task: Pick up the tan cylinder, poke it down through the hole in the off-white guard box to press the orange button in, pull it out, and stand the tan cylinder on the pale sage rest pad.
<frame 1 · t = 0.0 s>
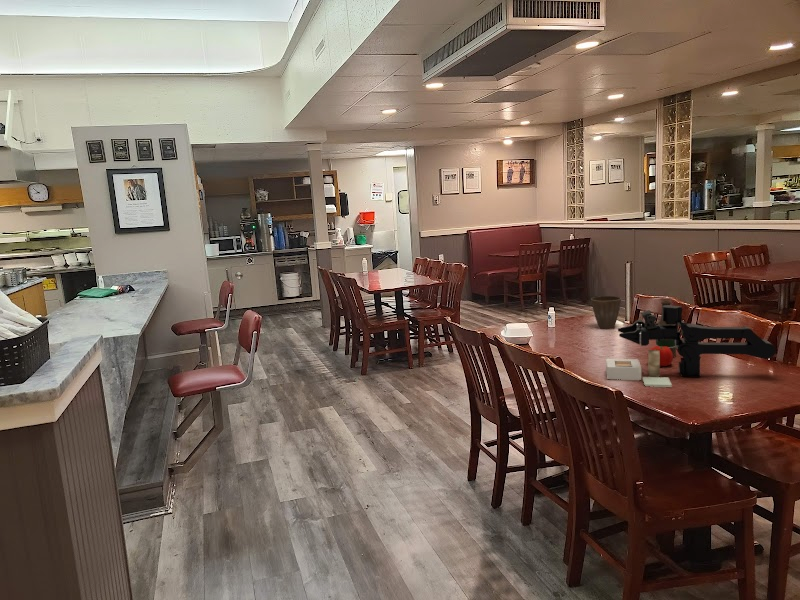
hand: (618, 332, 221), 17 cm above the table, tool horizontal, fingers open, 9 cm apart
beer bottle: (665, 356, 243), on the table
plant pot: (606, 328, 302), on the table
rest pad: (656, 383, 209), on the table
tomato: (659, 365, 231), on the table
guard box: (623, 375, 221), on the table
tan cylinder: (653, 376, 217), on the table
guard button: (623, 367, 220), point 3 cm above the table, slide at 0.0 cm
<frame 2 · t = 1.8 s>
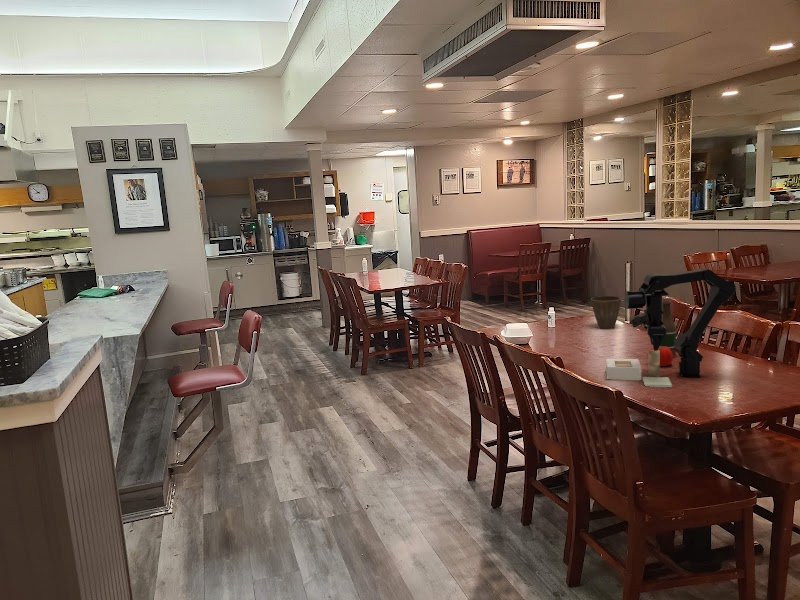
hand: (654, 347, 216), 11 cm above the table, tool pointing down, fingers open, 9 cm apart
nothing on the table moved.
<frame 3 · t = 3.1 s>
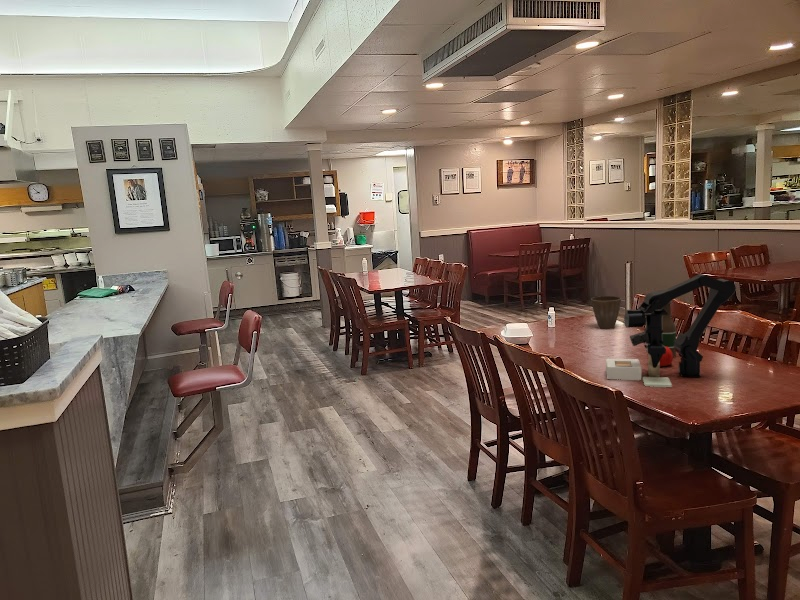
hand: (653, 366, 217), 4 cm above the table, tool pointing down, fingers closed on tan cylinder, 4 cm apart
tan cylinder: (653, 376, 217), on the table, touching gripper
everything else where it was.
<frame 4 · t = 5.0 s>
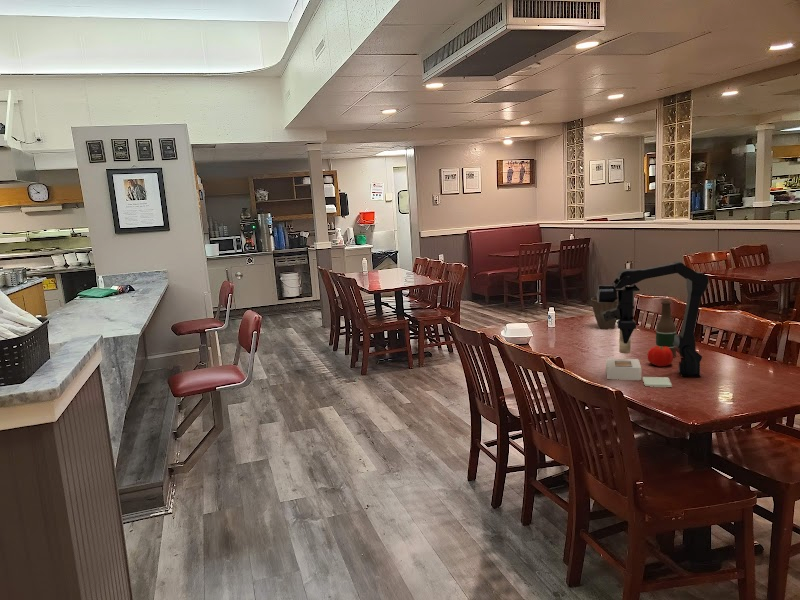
hand: (625, 342, 218), 13 cm above the table, tool pointing down, fingers closed on tan cylinder, 4 cm apart
tan cylinder: (624, 352, 219), point 9 cm above the table, touching gripper
everything else where it was.
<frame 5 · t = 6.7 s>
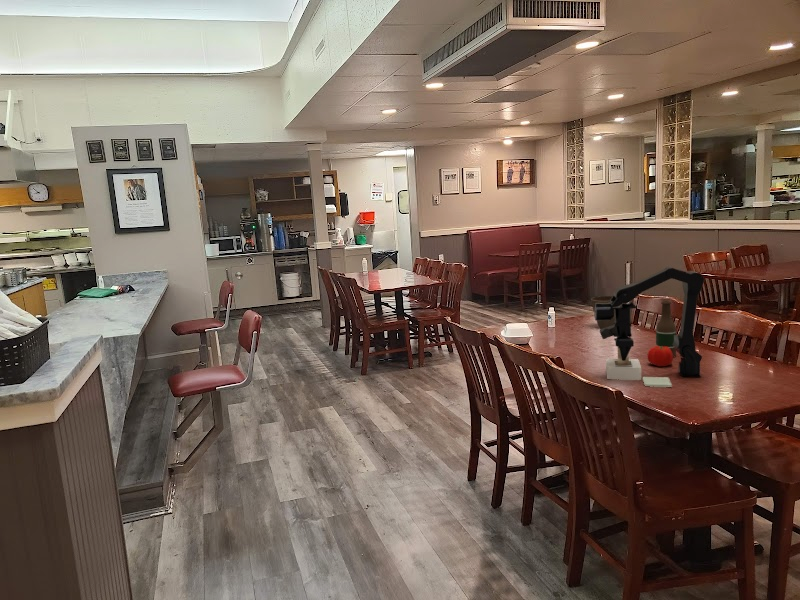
hand: (623, 359, 220), 7 cm above the table, tool pointing down, fingers closed on tan cylinder, 4 cm apart
tan cylinder: (623, 368, 220), point 3 cm above the table, touching gripper, guard button
guard button: (623, 370, 220), point 2 cm above the table, slide at 1.4 cm, touching tan cylinder
everything else where it was.
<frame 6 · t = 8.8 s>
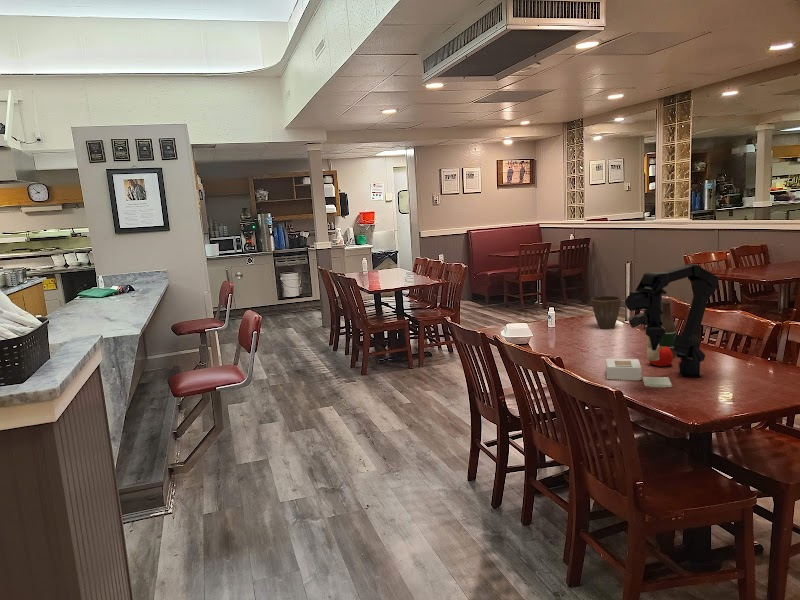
hand: (653, 348, 208), 13 cm above the table, tool pointing down, fingers closed on tan cylinder, 4 cm apart
tan cylinder: (653, 359, 209), point 9 cm above the table, touching gripper
guard button: (623, 370, 220), point 2 cm above the table, slide at 1.4 cm
everything else where it was.
when the fingers open (6 cm above the table, at t = 10.8 s): tan cylinder drops 1 cm, resting on rest pad.
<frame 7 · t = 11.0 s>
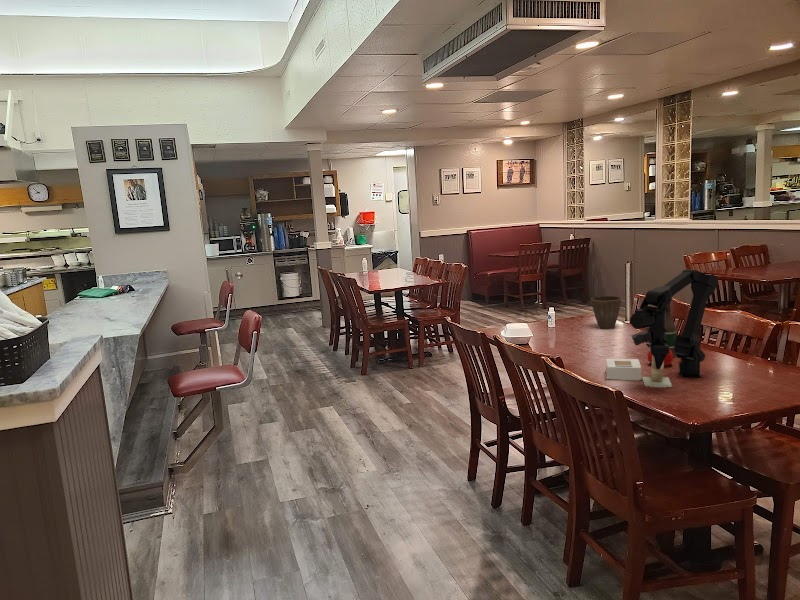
hand: (656, 366, 208), 6 cm above the table, tool pointing down, fingers open, 6 cm apart
tan cylinder: (656, 380, 209), point 1 cm above the table, touching rest pad
everything else where it was.
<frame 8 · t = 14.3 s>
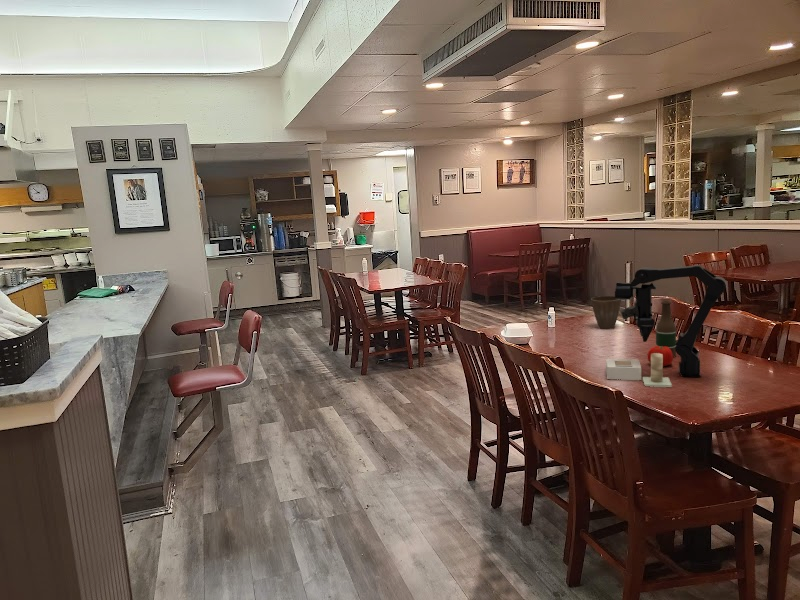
hand: (643, 338, 223), 13 cm above the table, tool pointing down, fingers open, 9 cm apart
nothing on the table moved.
at the end: guard button slide at 1.4 cm; tan cylinder 0.0 cm off-centre on the rest pad, point 1.0 cm above the rest pad's base; tan cylinder tilted 0° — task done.
